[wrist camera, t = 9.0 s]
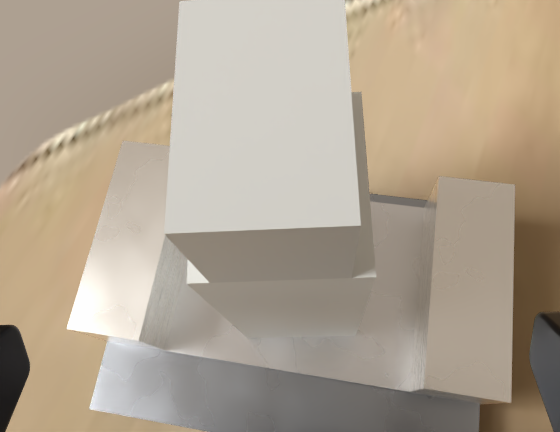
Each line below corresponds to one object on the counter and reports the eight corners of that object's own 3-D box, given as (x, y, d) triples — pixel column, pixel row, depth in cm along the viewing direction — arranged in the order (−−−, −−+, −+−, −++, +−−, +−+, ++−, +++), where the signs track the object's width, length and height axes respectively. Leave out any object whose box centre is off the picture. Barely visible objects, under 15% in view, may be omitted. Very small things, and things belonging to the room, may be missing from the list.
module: (355, 335, 19) (395, 224, 8) (247, 338, 20) (132, 235, 8) (347, 217, 21) (371, -21, 9) (248, 221, 21) (153, -3, 10)
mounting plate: (469, 478, 19) (509, 497, 14) (100, 409, 20) (42, 408, 16) (480, 216, 22) (515, 171, 18) (161, 177, 24) (126, 129, 20)
